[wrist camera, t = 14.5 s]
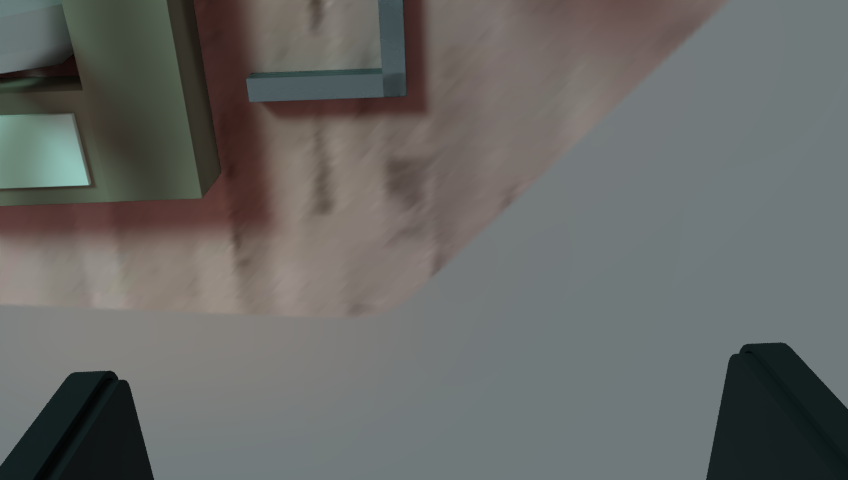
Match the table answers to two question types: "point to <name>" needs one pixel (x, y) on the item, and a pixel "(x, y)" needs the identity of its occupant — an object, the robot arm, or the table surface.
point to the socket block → (113, 112)
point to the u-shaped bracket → (344, 71)
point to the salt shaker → (33, 34)
